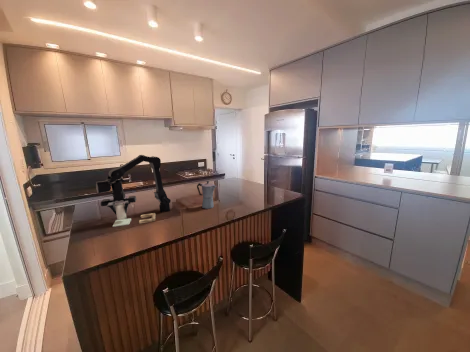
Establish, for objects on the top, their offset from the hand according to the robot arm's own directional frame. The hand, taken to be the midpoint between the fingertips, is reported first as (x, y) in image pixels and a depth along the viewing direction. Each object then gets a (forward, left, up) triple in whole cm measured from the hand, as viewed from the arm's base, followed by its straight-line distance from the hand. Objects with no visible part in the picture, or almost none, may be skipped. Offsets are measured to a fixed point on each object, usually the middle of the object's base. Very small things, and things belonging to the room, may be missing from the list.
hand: (121, 213), depth 126 cm
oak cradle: (-14, 0, -6) cm, 15 cm away
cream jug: (0, -1, -3) cm, 3 cm away
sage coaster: (0, 0, -6) cm, 6 cm away
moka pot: (-56, -7, -6) cm, 57 cm away
